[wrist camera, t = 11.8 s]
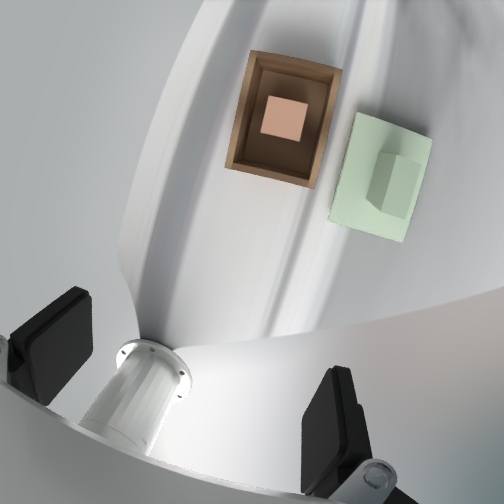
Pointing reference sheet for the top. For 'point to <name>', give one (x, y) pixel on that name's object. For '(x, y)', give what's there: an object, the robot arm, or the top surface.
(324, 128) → the box
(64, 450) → the robot arm
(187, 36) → the top surface
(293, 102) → the block
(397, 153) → the mint green stepped block
